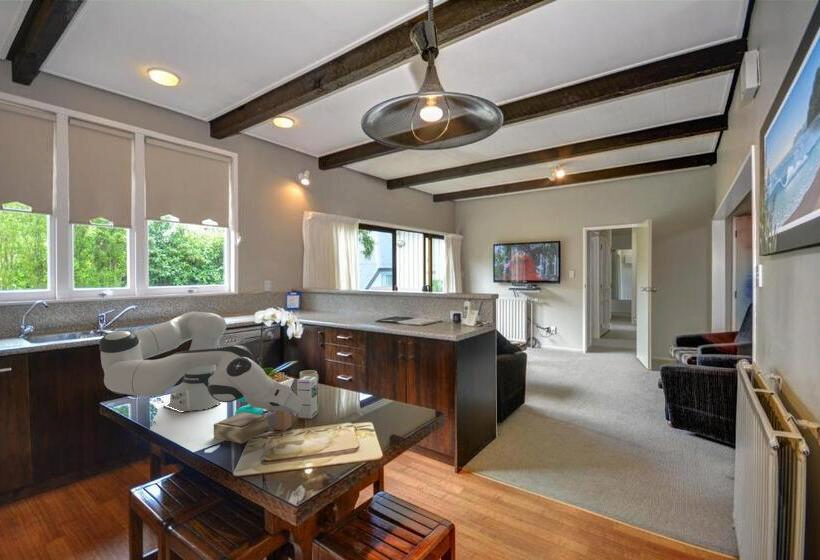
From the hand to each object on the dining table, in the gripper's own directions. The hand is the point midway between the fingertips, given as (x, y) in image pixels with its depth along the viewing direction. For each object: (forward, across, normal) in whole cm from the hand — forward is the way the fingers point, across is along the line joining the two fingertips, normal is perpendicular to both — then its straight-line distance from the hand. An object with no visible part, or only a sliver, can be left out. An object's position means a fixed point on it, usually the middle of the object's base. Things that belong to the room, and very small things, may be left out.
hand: (283, 412), depth 135 cm
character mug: (+22, -8, +14) cm, 28 cm away
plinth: (-3, -10, -10) cm, 15 cm away
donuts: (+7, -20, -1) cm, 21 cm away
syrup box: (+13, +1, +5) cm, 14 cm away
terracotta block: (+4, 0, -4) cm, 5 cm away
